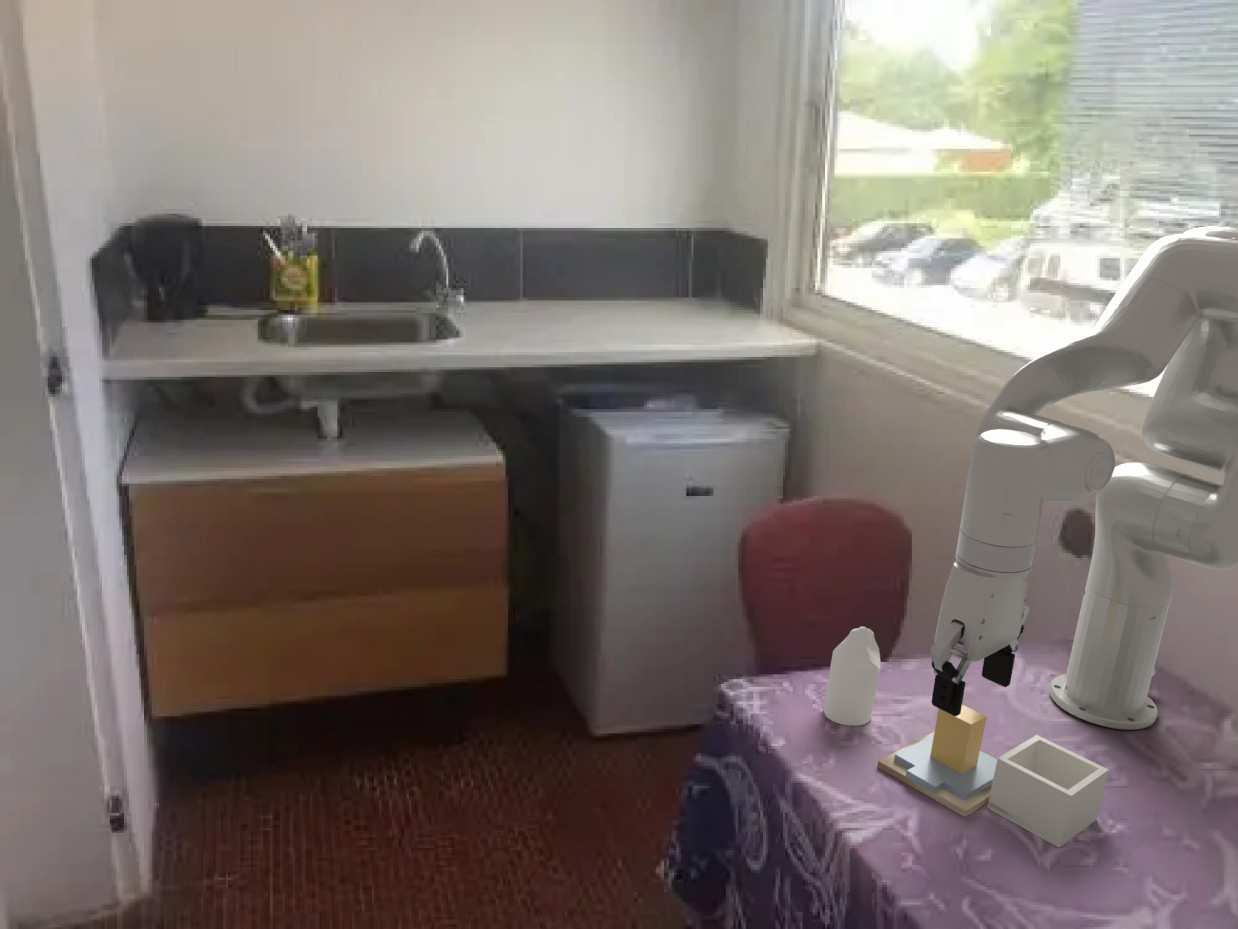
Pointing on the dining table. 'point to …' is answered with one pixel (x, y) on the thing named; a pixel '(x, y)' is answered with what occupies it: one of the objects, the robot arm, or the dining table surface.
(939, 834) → the dining table surface
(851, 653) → the white faceted top cylinder
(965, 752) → the lid
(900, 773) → the board
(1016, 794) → the tub
